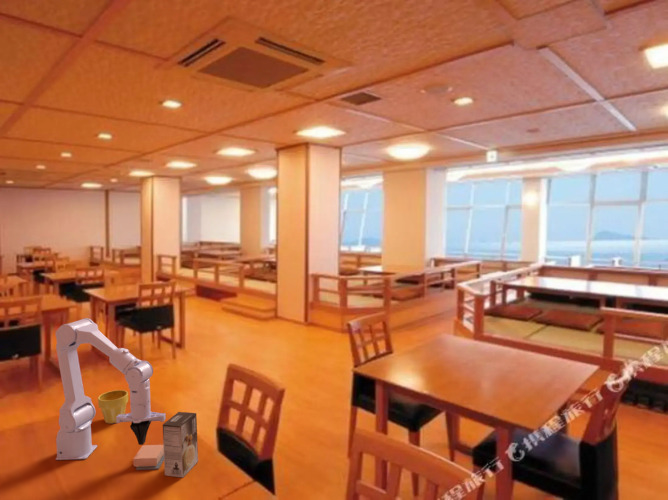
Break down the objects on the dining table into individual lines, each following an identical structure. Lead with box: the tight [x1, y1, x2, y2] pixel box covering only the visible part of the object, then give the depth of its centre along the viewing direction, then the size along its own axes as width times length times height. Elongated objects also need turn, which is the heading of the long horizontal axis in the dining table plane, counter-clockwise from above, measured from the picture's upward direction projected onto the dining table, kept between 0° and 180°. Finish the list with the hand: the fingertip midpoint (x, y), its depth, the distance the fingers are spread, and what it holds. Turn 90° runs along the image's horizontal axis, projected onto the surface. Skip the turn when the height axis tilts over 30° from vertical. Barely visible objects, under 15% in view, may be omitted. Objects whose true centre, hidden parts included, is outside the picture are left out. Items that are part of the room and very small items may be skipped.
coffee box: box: [162, 411, 199, 478], centre depth 137 cm, size 9×6×16 cm
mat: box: [135, 454, 164, 471], centre depth 142 cm, size 7×10×1 cm
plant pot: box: [97, 389, 129, 424], centre depth 170 cm, size 10×10×10 cm
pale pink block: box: [132, 444, 164, 468], centre depth 142 cm, size 3×8×7 cm
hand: (142, 443), depth 141 cm, fingers closed
